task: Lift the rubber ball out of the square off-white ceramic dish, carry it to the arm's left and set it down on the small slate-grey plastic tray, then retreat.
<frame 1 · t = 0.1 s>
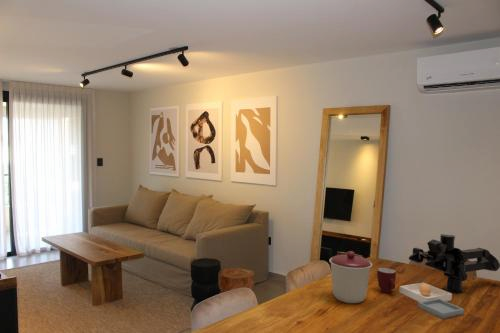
hand: (417, 261, 172), 17 cm above the table, tool horizontal, fingers open, 9 cm apart
tray: (440, 310, 159), on the table
dish: (424, 296, 175), on the table
ball: (425, 289, 175), point 3 cm above the table, touching dish
canister: (348, 299, 169), on the table
mug: (387, 293, 178), on the table
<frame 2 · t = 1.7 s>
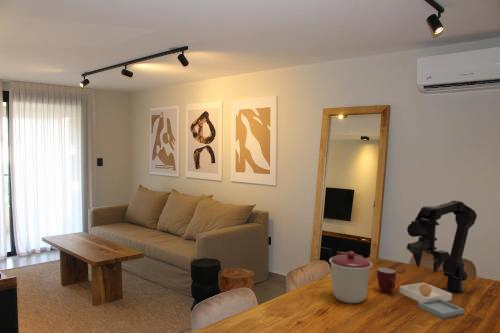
hand: (426, 269, 174), 12 cm above the table, tool pointing down, fingers open, 9 cm apart
nothing on the table moved.
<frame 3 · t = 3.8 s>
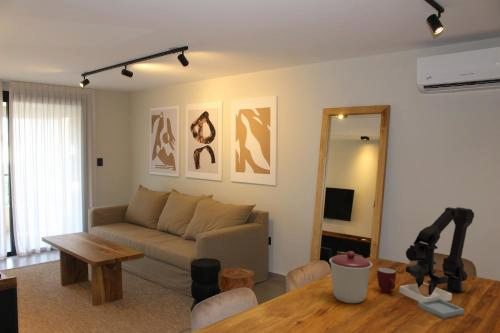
hand: (425, 292, 175), 2 cm above the table, tool pointing down, fingers closed on ball, 5 cm apart
ball: (425, 289, 175), point 3 cm above the table, touching dish, gripper
everything else where it was.
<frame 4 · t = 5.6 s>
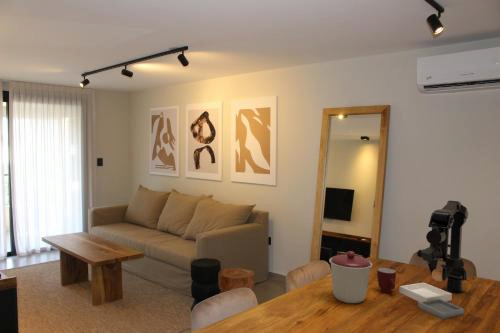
hand: (438, 278, 161), 13 cm above the table, tool pointing down, fingers closed on ball, 5 cm apart
ball: (438, 274, 161), point 14 cm above the table, touching gripper
everything else where it was.
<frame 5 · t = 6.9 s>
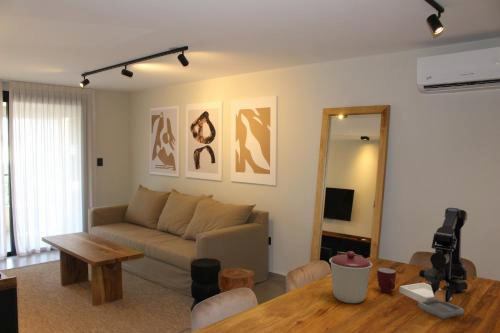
hand: (441, 299, 159), 5 cm above the table, tool pointing down, fingers closed on ball, 5 cm apart
ball: (441, 296, 159), point 6 cm above the table, touching gripper
everything else where it was.
when the fingers open (3 cm above the table, at t = 7.9 s): ball drops 1 cm, resting on tray.
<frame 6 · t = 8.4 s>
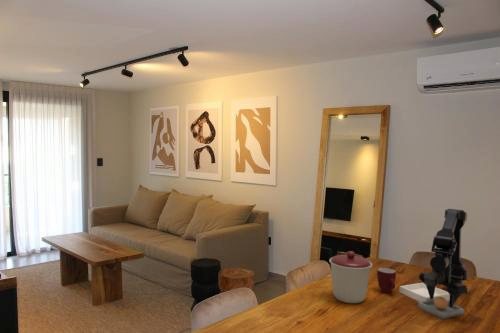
hand: (441, 302, 159), 3 cm above the table, tool pointing down, fingers open, 9 cm apart
ball: (440, 302, 159), point 3 cm above the table, touching tray
everything else where it was.
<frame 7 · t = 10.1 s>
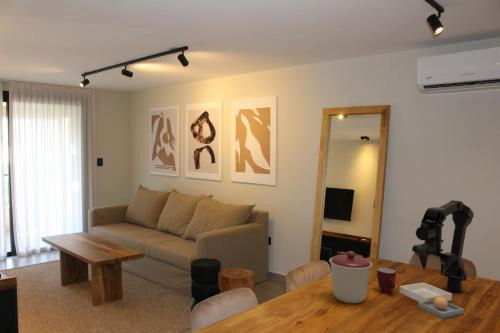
hand: (432, 272, 171), 12 cm above the table, tool pointing down, fingers open, 9 cm apart
nothing on the table moved.
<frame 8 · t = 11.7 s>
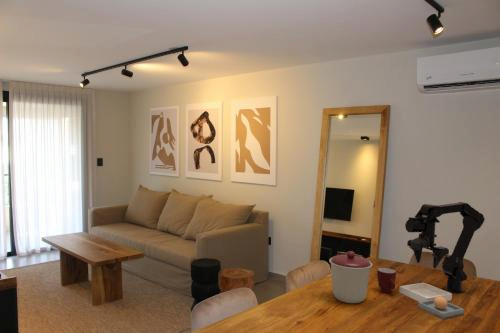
hand: (426, 265, 179), 13 cm above the table, tool pointing down, fingers open, 9 cm apart
nothing on the table moved.
at the end: ball inside the target area on the tray (0.1 cm from its centre), point 3.3 cm above the tray's base; the gripper is holding nothing; ball touching tray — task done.
